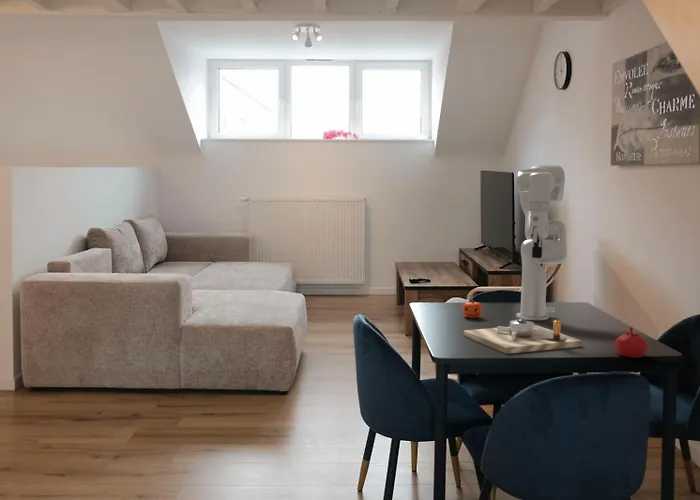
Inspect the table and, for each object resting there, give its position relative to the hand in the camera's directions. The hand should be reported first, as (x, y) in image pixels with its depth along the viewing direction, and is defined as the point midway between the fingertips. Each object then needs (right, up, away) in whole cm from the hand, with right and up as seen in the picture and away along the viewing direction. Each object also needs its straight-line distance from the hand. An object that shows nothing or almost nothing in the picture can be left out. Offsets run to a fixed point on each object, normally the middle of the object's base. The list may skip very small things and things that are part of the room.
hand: (536, 257), depth 258 cm
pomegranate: (+22, -31, -31) cm, 49 cm away
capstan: (-7, -26, -15) cm, 31 cm away
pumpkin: (-19, -24, +25) cm, 40 cm away
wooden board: (-9, -29, -13) cm, 33 cm away
